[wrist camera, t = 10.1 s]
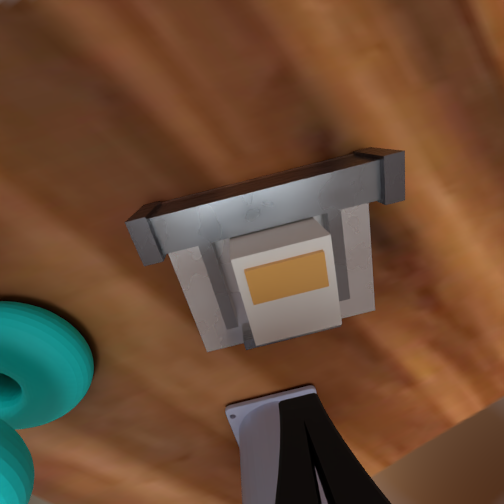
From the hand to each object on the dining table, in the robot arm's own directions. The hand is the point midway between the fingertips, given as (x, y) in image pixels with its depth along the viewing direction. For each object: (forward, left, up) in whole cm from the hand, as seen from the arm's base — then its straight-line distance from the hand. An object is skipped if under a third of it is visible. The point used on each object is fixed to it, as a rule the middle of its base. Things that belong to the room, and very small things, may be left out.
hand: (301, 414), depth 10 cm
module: (+2, -1, -10) cm, 10 cm away
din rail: (+1, -1, -10) cm, 10 cm away
